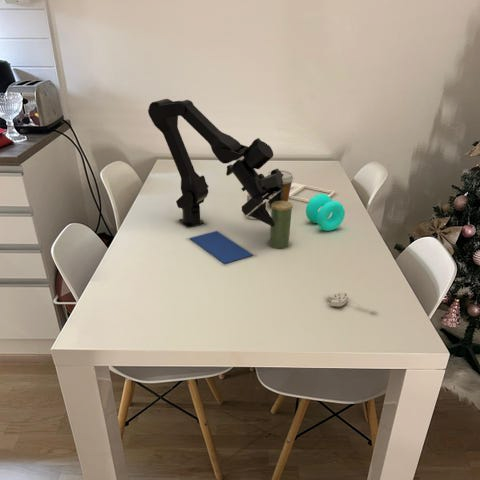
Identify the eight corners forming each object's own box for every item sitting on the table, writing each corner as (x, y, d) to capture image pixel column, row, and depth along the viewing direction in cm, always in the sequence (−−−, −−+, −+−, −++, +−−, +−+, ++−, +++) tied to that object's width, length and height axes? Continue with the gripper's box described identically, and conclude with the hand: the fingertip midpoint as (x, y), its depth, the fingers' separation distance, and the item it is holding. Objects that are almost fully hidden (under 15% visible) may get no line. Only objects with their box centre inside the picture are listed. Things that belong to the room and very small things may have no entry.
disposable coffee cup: (293, 204, 181) (296, 171, 174) (287, 213, 174) (290, 179, 167) (269, 200, 184) (270, 168, 177) (261, 209, 176) (263, 176, 169)
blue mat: (189, 239, 154) (189, 238, 154) (216, 232, 159) (216, 231, 159) (224, 264, 141) (224, 263, 141) (252, 255, 146) (252, 254, 145)
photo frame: (293, 182, 198) (335, 190, 190) (293, 184, 198) (334, 193, 191) (276, 192, 187) (320, 202, 180) (276, 195, 188) (319, 205, 181)
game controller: (328, 295, 128) (330, 287, 126) (373, 302, 126) (375, 293, 124) (326, 306, 123) (328, 298, 122) (373, 313, 121) (375, 305, 120)
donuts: (318, 234, 159) (322, 204, 154) (302, 222, 167) (305, 194, 161) (344, 229, 163) (348, 200, 157) (327, 218, 170) (331, 190, 165)
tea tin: (265, 243, 153) (267, 203, 146) (280, 238, 156) (283, 199, 149) (277, 250, 149) (280, 209, 142) (292, 245, 152) (296, 205, 145)
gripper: (252, 170, 134) (286, 216, 136) (280, 154, 148) (311, 196, 150) (227, 193, 141) (259, 236, 143) (256, 175, 155) (285, 215, 157)
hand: (280, 220), depth 148 cm, fingers open, 9 cm apart
